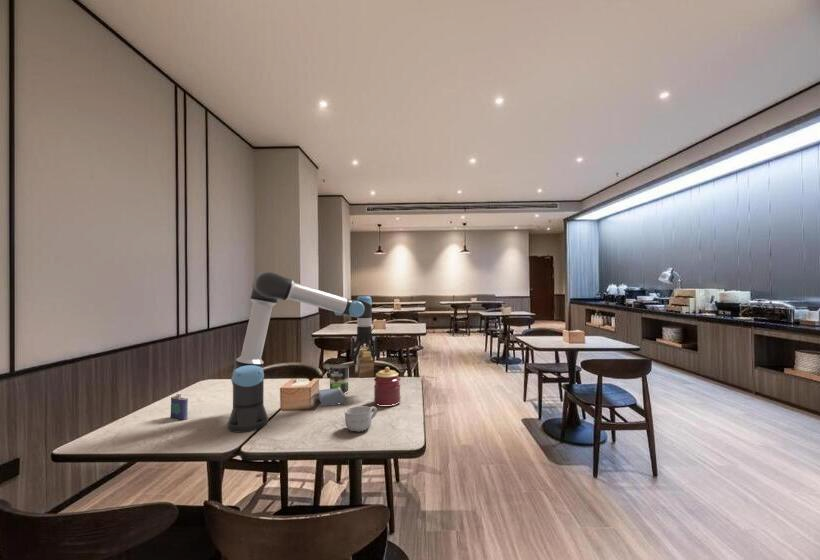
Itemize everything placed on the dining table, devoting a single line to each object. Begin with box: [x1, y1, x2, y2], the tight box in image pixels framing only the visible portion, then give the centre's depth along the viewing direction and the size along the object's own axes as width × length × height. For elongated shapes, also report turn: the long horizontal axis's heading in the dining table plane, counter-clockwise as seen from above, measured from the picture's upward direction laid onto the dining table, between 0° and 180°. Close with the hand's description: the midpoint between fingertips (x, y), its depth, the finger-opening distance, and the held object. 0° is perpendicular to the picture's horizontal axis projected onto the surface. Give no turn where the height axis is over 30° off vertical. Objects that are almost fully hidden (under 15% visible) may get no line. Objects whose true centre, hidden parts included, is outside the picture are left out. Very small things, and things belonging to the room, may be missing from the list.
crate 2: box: [361, 350, 372, 361], centre depth 183 cm, size 4×4×4 cm
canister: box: [373, 366, 401, 405], centre depth 177 cm, size 13×13×18 cm
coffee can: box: [329, 363, 350, 393], centre depth 196 cm, size 10×10×14 cm
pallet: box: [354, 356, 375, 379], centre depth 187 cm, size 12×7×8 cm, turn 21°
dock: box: [318, 387, 346, 407], centre depth 181 cm, size 14×11×4 cm
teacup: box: [344, 405, 378, 432], centre depth 145 cm, size 14×11×8 cm
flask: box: [170, 393, 189, 421], centre depth 157 cm, size 9×3×11 cm, turn 68°
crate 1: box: [357, 348, 368, 358], centre depth 191 cm, size 4×4×4 cm
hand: (364, 370), depth 187 cm, fingers closed on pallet, 7 cm apart
